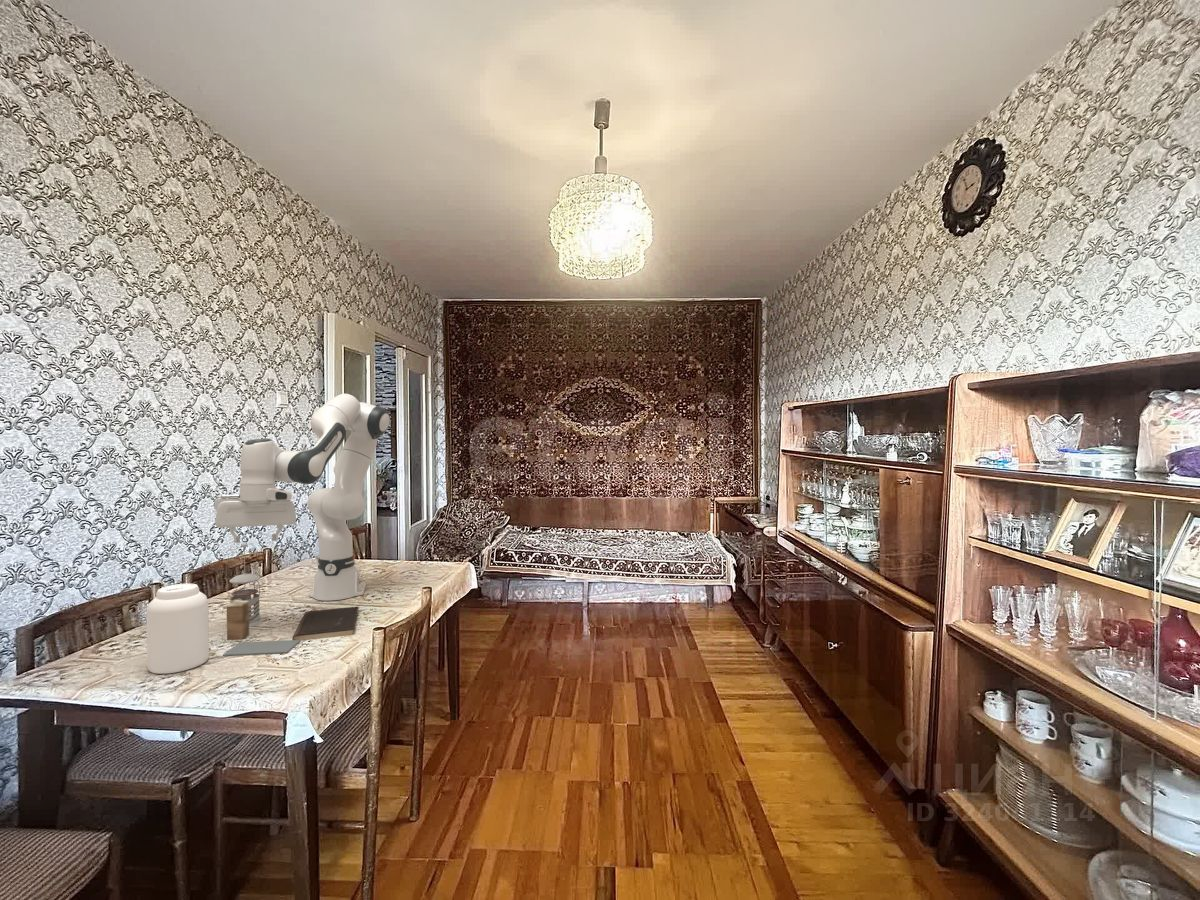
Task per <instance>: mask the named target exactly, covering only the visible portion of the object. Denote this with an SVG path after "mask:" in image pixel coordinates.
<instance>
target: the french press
mask: <svg viewBox="0 0 1200 900" xmlns="http://www.w3.org/2000/svg"><path fill="white" fill-rule="evenodd" d="M248 547H249V544H248V543H246V542H243V543H241V545H240V548H243V561H244V562H243V567H244V568H243V573H242V574H238V575H236V576H233V577H232V578H230V579H229V583H230V584H232V585H240V584H241V585H244V588H245V589H239V590H235V591H232V592H231V594H230V595H231V596H232V597H230V599H229V604H230V603H232V602H233V601H237V600H238V601H249V628H250V627H254V626H258V625H260V624H262V623H263V622H264V619H263V618H262V617H261V613H260V611H261V610H260V607H261V606H260V602H261V601H260V595H261V585H260V582H259V581H260V579H261V577H260V576H258V575H257V574H254V573H247V572H246V548H248ZM256 582H257V584H258V589H257V588H256V585H255V584H256ZM246 584H249V585H250V586H253V588H246ZM252 597H253V598H252Z"/></svg>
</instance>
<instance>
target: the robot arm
mask: <svg viewBox="0 0 1200 900" xmlns="http://www.w3.org/2000/svg"><path fill="white" fill-rule="evenodd" d="M390 415H391V414H390V413H389V411H388V410H387V409H386V408H384V407H381V406H379V405H377V406H376V405H374V404H370V403H368V402H364V401H361V402H360V401H359V400H358V399H357V398H356V396H354V395H352V394H349V393H340V394H338V395H335V396H334V397H332V398H330V400H328V401H326V402H325V403H324V404H322V405H321V406H320V407H319V408H318V409H317V410H316V411H315V412H313V414H312V416H311V418H310V427H311V430H312V432H313V433H314V435H315V436H316V437H317V438H318V439H319V440H318V441H317V442H316V443H315V444H314V445H313V447H312V448H309V449H305V450H286V449H284V448H282V447H281V446H278V445H277V444H276V443H275V442H274V439H271V438H254V439H250V440H246V441H245V442H244V444H243V445H242V447H241V448H242V449H241V453H240V460H239V461H240V465H239V466H240V467H239V470H240V473H241V479H240V481H239V493H238V494H237V493H236V494H221V495H220V496H217V497H216V498H214V499H213V508H214V510H215V511H216V513H215V519H214V526H215V527H216V528H218V529H219V528H229V532H230V534H231V535H232V537H233V544H238V543H239V544H240V543H241V535H237V534H236V532H235V531H236V528H242V527H243V528H244V527H246V528H247V527H265V526H268V527H269V526H276V529H277V530H276V531H275V533H271V541H273V542H274V541H278V540H279V535H280V533H281V532H282V530H283V526H286V525H287V526H288V525H291V526H292V525H294V524H295V523H296V522H297V512H296V507H295V503H294V502H293V501H292V500H291V499H292V498H293V494H292V493H291V492H290V491H288V490H283V489H281V488H276V482H285V483H297V484H304V485H311V484H314V483H315V482H317V481H318V480H320V478H321V477H322V476H323V473H324V471H325V469H326V467H327V465H328V463H329V461H330V459H331V458H332V457H333V456H334V454H335V453H337V450H338V449H339V448H340V446H342V444H343V442H344V440H345V439H346V436H347V431H348V430H349V431H350V435H349V436H348V438H347V440H346V441H345V443H344V445H343V446H342V449H341V451H340V453H339V455H338V457H337V460H336V462H335V464H334V467H333V473H334V475H335V477H334V479H335V480H334V484H333V487H323V488H320V489H316V490H314V491H313V492H311V493H310V494H309V496H308V498H307V501H306V503H307V505H306V506H307V508H308V511H309V512H310V513H311V514H312V517H313V519H314V523H315V527H316V530H317V535H318V558H317V570H316V571H315V572H314V574H313V583H312V592H310V593H308V597H309V598H312V599H313V598H314V599H315V600H318V601H325V602H326V601H339V600H345V599H350V598H354V597H358V596H362V595H364V594H365V591H366V588H367V582H364V581H361V573H360V571H359V569H358V568H357V567H356V566H355V564H356V562H355V559H356V554H355V553H353V552H354V551H353V549H354V548H353V547H354V546H353V545H354V544H353V534H352V532H351V530H350V529H349V527H348V524H347V521H351V520H354V519H358V518H359V517H360V516H362V515H363V513H364V511H365V507H366V503H365V499H364V497H363V488H364V482H365V478H366V475H367V472H368V471H369V470H368V469H370V468H369V467H370V465H371V463H372V460H373V458H374V456H375V453H376V450H377V449H376V448H377V445H378V439H379V438H380V437H381V436H382V435H384V434H386V432H387V430H388V429H389V427H390V425H391V416H390Z"/></svg>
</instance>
